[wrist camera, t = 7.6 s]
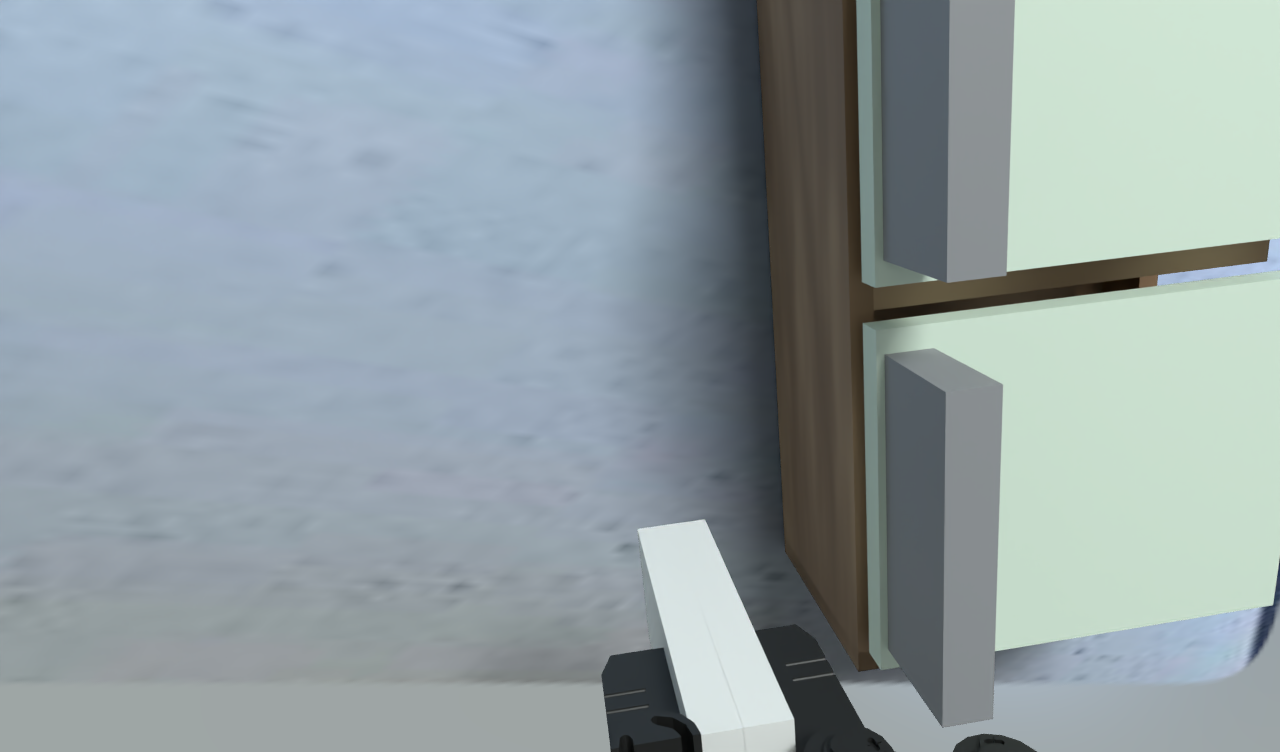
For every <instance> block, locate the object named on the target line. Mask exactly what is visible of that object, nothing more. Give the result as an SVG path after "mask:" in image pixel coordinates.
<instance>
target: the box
mask: <svg viewBox="0 0 1280 752" xmlns="http://www.w3.org/2000/svg"><path fill="white" fill-rule="evenodd" d="M757 15H758V34H759V54H760V73H761V92H762V112H763V131H764V150H765V170H766V189H767V208H768V228H769V247H770V266H771V286H772V305H773V325H774V344H775V363H776V383H777V402H778V421H779V441H780V460H781V479H782V499H783V518H784V537H785V552H786V554H787V555H788V557H789V558H790V560H791V562H792V563H793V565H794V567H795V568H796V570H797V572H798V573H799V575H800V576H801V578H802V580H803V581H804V583H805V585H806V586H807V588H808V590H809V591H810V593H811V595H812V596H813V598H814V599H815V601H816V603H817V604H818V606H819V608H820V609H821V611H822V613H823V614H824V616H825V617H826V619H827V621H828V622H829V624H830V626H831V627H832V629H833V631H834V632H835V634H836V635H837V637H838V639H839V640H840V642H841V644H842V645H843V647H844V649H845V650H846V652H847V653H848V655H849V657H850V658H851V660H852V662H853V663H854V665H855V667H856V668H857V670H858V672H860V671H866V670H872V669H878V668H879V666H878V665H877V663H876V662H875V660H874V659H873V657H872V656H871V654H870V653H869V615H868V565H867V515H866V464H865V414H864V364H863V323H868V322H875V321H883V320H891V319H899V318H907V317H915V316H923V315H931V314H939V313H947V312H955V311H963V310H970V309H978V308H986V307H994V306H1002V305H1010V304H1018V303H1026V302H1034V301H1042V300H1050V299H1058V298H1065V297H1073V296H1081V295H1089V294H1097V293H1105V292H1113V291H1121V290H1129V289H1137V288H1145V287H1153V286H1157V280H1158V275H1161V274H1169V273H1177V272H1185V271H1193V270H1201V269H1209V268H1217V267H1225V266H1233V265H1241V264H1249V263H1257V262H1265V261H1267V257H1268V249H1269V241H1270V240H1262V241H1254V242H1246V243H1237V244H1229V245H1221V246H1213V247H1205V248H1197V249H1188V250H1180V251H1172V252H1164V253H1156V254H1148V255H1139V256H1131V257H1123V258H1115V259H1107V260H1099V261H1090V262H1082V263H1074V264H1066V265H1058V266H1050V267H1041V268H1033V269H1025V270H1017V271H1009V272H1007V276H999V277H991V278H983V279H975V280H967V281H959V282H950V283H946V282H943V281H940V280H935V281H927V282H919V283H911V284H903V285H894V286H886V287H878V288H874V287H872V286H870V285H868V284H865V283H863V282H862V263H861V213H860V162H859V112H858V62H857V11H856V0H757Z"/></svg>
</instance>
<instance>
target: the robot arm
mask: <svg viewBox="0 0 1280 752" xmlns="http://www.w3.org/2000/svg"><path fill="white" fill-rule="evenodd" d="M637 530H638V539H639V548H640V558H641V567H642V576H643V585H644V595H645V604H646V613H647V623H648V632H649V639H650V643H651V648H652V649H650V650H644V651H638V652H631V653H625V654H619V655H612V656H610V658H609V660H608V662H607V664H606V666H605V669H604V671H603V673H602V683H603V691H604V699H605V707H606V714H607V723H608V731H609V738H610V747H611V752H894V751H893V749H892V747H891V746H890V745H889V744H888V743H887V742H886V740H884V738H883V737H882V736H880V735H878V734H877V733H875V732H873V731H871V730H869V729H868V728H865V727H864V725H863V724H862V722H861V720H860V718H859V717H858V715H857V713H856V711H855V709H854V708H853V706H852V704H851V702H850V700H849V699H848V697H847V695H846V693H845V691H844V690H843V688H842V686H841V684H840V683H839V681H838V679H837V677H836V675H834V673H833V670H832V668H831V666H830V665H829V663H828V661H827V660H826V659H825V656H824V654H823V652H822V650H821V649H820V647H819V645H818V643H817V641H816V640H815V638H813V637H812V636H810V635H809V634H808V633H806V632H805V631H804V630H802V629H801V628H799V627H798V626H797V625H790V626H783V627H777V628H771V629H764V630H758V631H755V630H754V628H753V626H752V624H751V622H750V619H749V617H748V615H747V613H746V610H745V608H744V606H743V604H742V601H741V599H740V597H739V595H738V592H737V590H736V588H735V586H734V584H733V581H732V579H731V577H730V575H729V572H728V570H727V568H726V566H725V563H724V561H723V559H722V557H721V554H720V552H719V550H718V548H717V545H716V543H715V541H714V539H713V537H712V534H711V532H710V530H709V528H708V525H707V523H706V521H705V519H703V520H696V521H689V522H683V523H676V524H669V525H662V526H655V527H648V528H641V529H637ZM953 752H1037V751H1035V750H1033V749H1032V748H1030V747H1029V746H1027V745H1025V744H1024V743H1022V742H1021V741H1018V740H1015V739H1012V738H1009V737H1006V736H1002V735H992V734H980V735H975V736H971V737H967V738H966V739H964V740H962V741H961V742H960V743H958V744H957V745H956V746H955V748H954V750H953Z"/></svg>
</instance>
